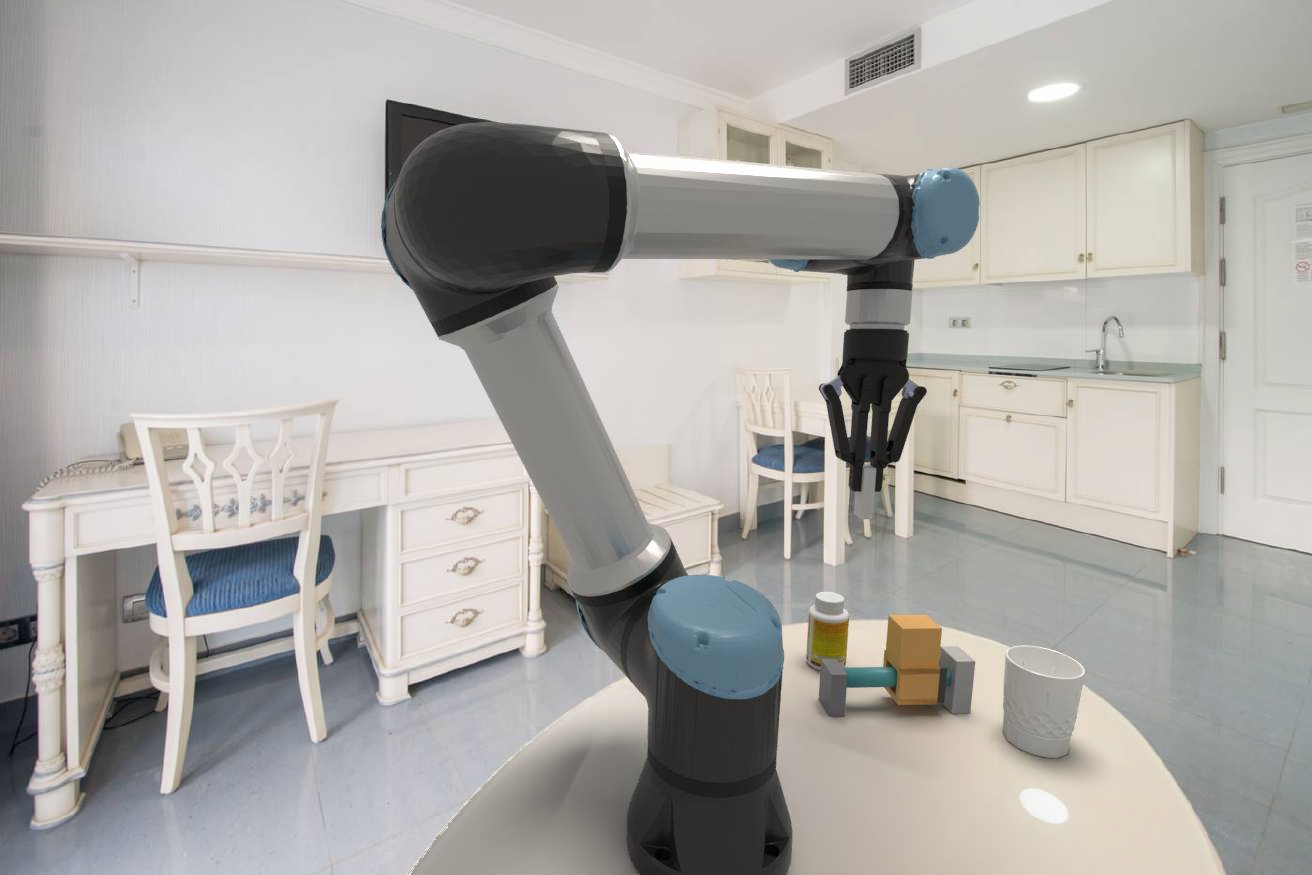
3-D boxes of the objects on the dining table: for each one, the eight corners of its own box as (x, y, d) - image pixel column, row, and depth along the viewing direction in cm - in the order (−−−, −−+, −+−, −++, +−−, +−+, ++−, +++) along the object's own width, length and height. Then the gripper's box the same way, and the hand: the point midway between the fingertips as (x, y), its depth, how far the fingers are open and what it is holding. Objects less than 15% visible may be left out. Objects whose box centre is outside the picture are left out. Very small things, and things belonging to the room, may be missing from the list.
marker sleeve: (897, 704, 79) (904, 630, 78) (881, 684, 84) (887, 613, 83) (936, 704, 80) (943, 629, 78) (918, 683, 84) (924, 613, 83)
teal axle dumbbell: (829, 717, 79) (833, 664, 78) (817, 697, 83) (821, 646, 82) (971, 714, 80) (976, 662, 79) (952, 694, 85) (956, 645, 84)
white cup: (1087, 766, 71) (1098, 682, 69) (1009, 756, 72) (1019, 673, 71) (1058, 725, 78) (1067, 649, 77) (988, 717, 80) (996, 641, 78)
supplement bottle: (853, 672, 90) (857, 603, 89) (816, 675, 89) (820, 605, 88) (834, 653, 96) (838, 588, 94) (799, 656, 94) (803, 590, 93)
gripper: (916, 329, 82) (901, 509, 85) (814, 327, 81) (804, 508, 85) (943, 328, 74) (926, 525, 78) (832, 325, 74) (820, 523, 77)
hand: (863, 516), depth 81 cm, fingers closed
